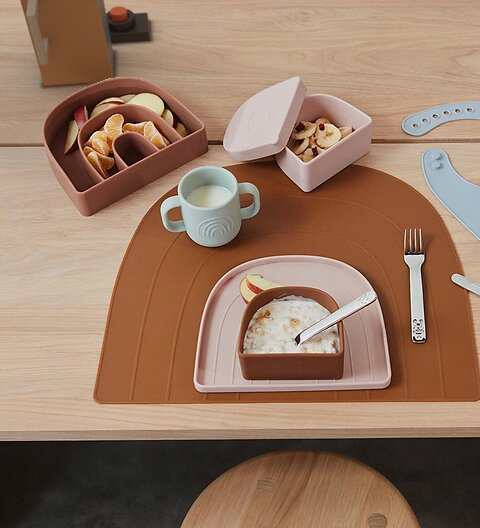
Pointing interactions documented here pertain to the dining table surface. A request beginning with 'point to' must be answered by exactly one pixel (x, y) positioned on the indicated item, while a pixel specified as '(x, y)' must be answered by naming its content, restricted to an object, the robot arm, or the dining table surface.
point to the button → (118, 14)
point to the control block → (129, 28)
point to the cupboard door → (68, 40)
